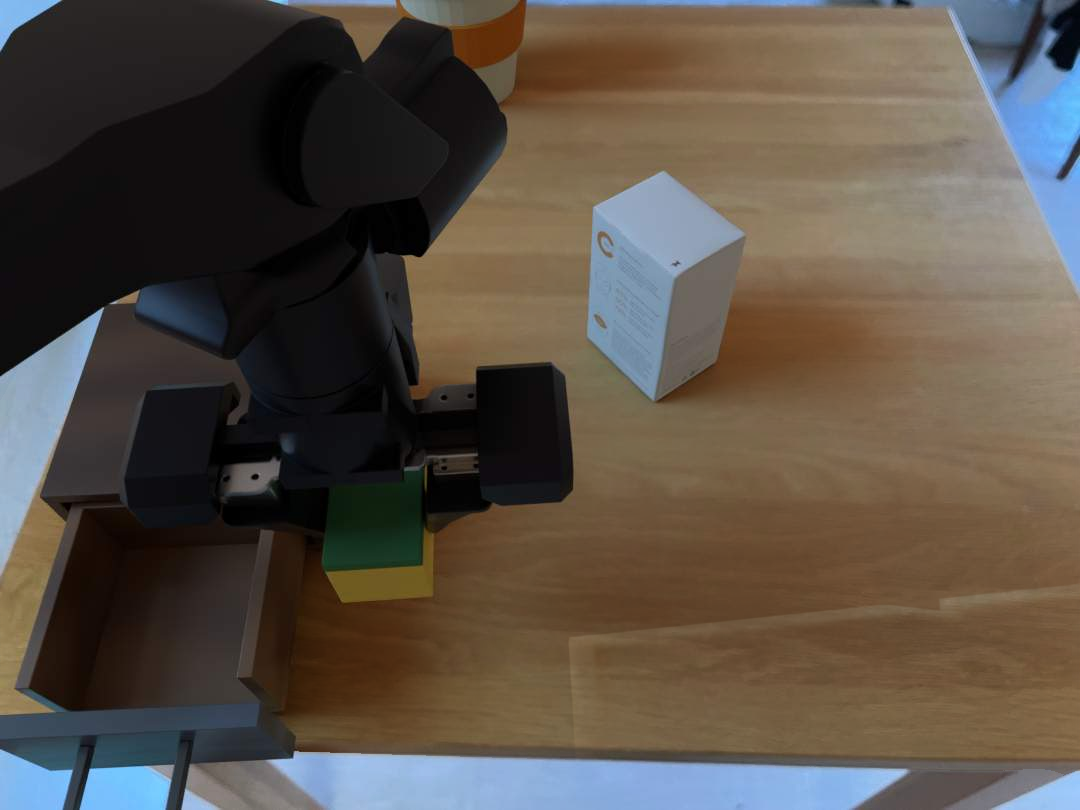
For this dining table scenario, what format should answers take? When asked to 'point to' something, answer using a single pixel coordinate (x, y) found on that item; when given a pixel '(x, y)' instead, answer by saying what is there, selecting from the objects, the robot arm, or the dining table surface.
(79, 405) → the cabinet
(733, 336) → the dining table surface
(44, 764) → the drawer
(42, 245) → the robot arm
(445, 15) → the reusable coffee cup
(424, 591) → the sponge
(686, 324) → the small box
